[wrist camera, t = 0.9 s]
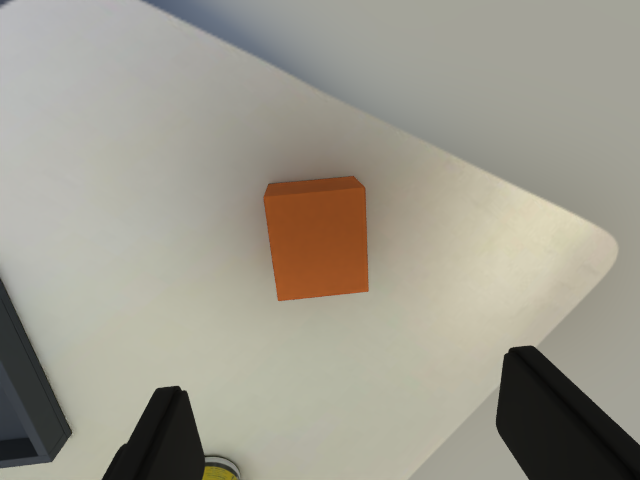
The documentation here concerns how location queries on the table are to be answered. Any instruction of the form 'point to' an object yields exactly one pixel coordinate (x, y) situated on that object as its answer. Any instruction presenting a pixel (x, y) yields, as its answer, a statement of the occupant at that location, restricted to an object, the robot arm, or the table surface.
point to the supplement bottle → (220, 469)
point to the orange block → (318, 237)
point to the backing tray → (25, 399)
